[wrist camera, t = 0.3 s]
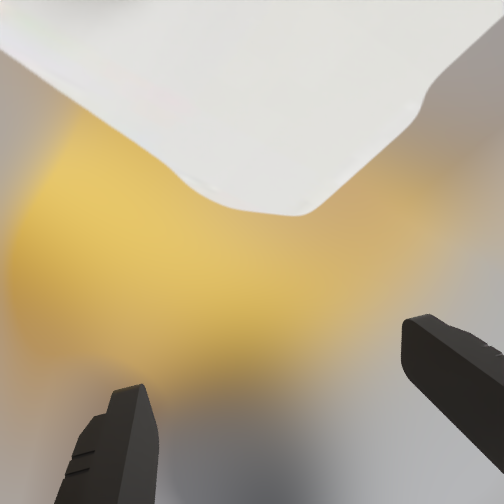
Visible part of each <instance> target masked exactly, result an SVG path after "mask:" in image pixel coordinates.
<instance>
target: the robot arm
mask: <svg viewBox="0 0 504 504" xmlns="http://www.w3.org/2000/svg"><path fill="white" fill-rule="evenodd" d="M401 364H402V367H403V370H404V372H405V374H406V376H407V377H408V379H409V380H410V381H411V382H412V383H413V384H414V385H415V386H416V387H417V388H418V389H419V390H420V391H421V392H422V393H423V394H424V395H425V396H426V397H427V398H428V399H429V400H430V401H431V402H432V403H433V404H434V405H435V406H436V407H437V408H438V409H439V410H440V411H441V412H442V413H443V414H444V415H445V416H446V417H447V418H448V419H449V420H450V421H451V422H452V423H453V424H454V425H455V426H456V427H457V428H458V429H459V430H460V431H461V432H462V433H463V434H464V435H465V436H466V437H467V438H468V439H469V440H470V441H471V442H472V443H473V444H474V445H475V446H477V448H478V449H479V450H480V451H481V452H482V453H483V454H484V455H485V456H486V457H487V458H488V459H489V460H490V461H491V462H492V463H493V464H494V465H495V466H496V467H497V468H498V469H499V470H500V471H501V472H502V473H503V474H504V355H503V354H502V352H500V351H498V350H496V349H495V348H494V347H492V346H488V344H487V343H485V342H484V341H482V340H481V339H479V338H477V337H476V336H474V335H473V334H471V333H469V332H466V331H463V330H460V329H458V328H455V327H452V326H449V325H447V324H445V323H444V322H442V321H441V320H439V319H438V318H436V317H435V316H433V315H430V314H426V315H422V316H418V317H413V318H409V319H406V320H404V322H403V324H402V342H401ZM158 454H159V437H158V429H157V425H156V421H155V418H154V415H153V412H152V408H151V405H150V401H149V398H148V395H147V392H146V388H145V386H144V385H143V384H139V385H135V386H131V387H127V388H123V389H119V390H115V391H113V393H112V396H111V399H110V402H109V406H108V409H107V412H106V414H102V415H98V416H94V417H93V419H92V420H91V421H90V423H89V424H88V425H87V427H86V428H85V429H84V430H83V432H82V433H81V434H80V436H79V438H78V441H77V443H76V446H75V449H74V451H73V454H72V460H71V461H70V462H69V465H68V468H67V470H66V473H65V479H63V481H62V484H61V487H60V489H59V492H58V494H57V497H56V500H55V503H54V504H154V502H155V490H156V478H157V467H158V466H157V465H158Z"/></svg>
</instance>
